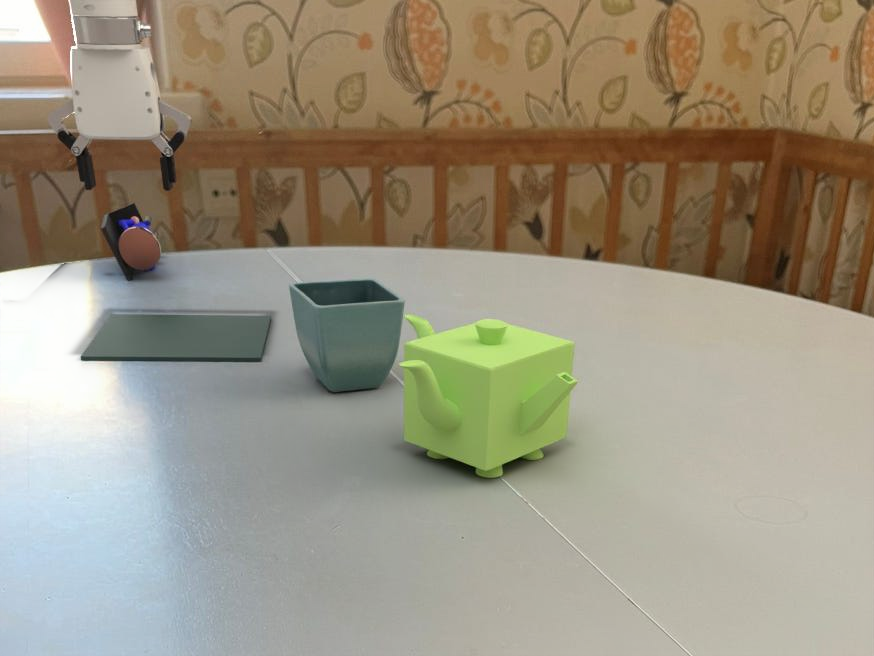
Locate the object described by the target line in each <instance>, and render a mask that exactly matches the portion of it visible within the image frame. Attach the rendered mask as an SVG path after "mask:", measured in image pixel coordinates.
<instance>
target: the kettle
mask: <svg viewBox="0 0 874 656" xmlns="http://www.w3.org/2000/svg"><path fill="white" fill-rule="evenodd" d="M403 318H405V320H406V321H407V322H408V323H409V324H410V325H411V326H412V327H413V329H414V331H415V333H416V336H417V338H416V339H413V340H410V341H406V342H405V343H404V344H403V361H402V362H400V363H398V366H399V367H401V368H403V440H404V441H405V442H407V443H409V444H412V445H415V446H418V447H421V448H423V449H426V450H428V451H427V452H426V455H427V457H429V458H432V459H436V460H445V459H453V460H456V461H459V462H461V463H464V464H466V465H469V466H472V467H474V468H475V474H476V475H477V476H479V477H482V478H488V479H491V478H492V479H493V478H494V479H495V478H498V477H502V475H503V473H504V471H503V465H504V464H506V463H509V462H512V461H513V460H514V461H515V460H516V459H518V458H521V459H524V460H529V461H530V460H531V461H534V460H540V459H543V458H544V453H543V452H542V450H541V449H542V448H544V447H547V446H549V445H551V444H553V443H557V442H559V441H560V440H561V441H562V440H563V439H565V438H567V435H568V423H569V411H570V402H571V401H570V400H571V392H572V390H573V389H574V388H575V387H576V386H577V384H578V382H579V380H578V379H576V378H575V377H574V376H573V367H574V356H575V355H574V354H575V346H576V345H575V344H576V343H575V342H574V341H572V340H569V339H565V338H561V337H558V336H555V335H550V334H547V333H544V332H539V331H535V330H532V329H529V328H526V327H521V326H518V325H513V324H510V323H507V322H505V321H503V320H501V319H495V318H485V319H480V320H477V321H476V322H473V323H470V324H467V325H464V326H463V325H462V326H459V327H456V328H452V329H448V330H445V331H441V332H438V333H436V332H435V330H434V328H433V327H432V325H431V324H430V321H428V320H427V319H425V318H423V317H421V316H419V315H415V314H403Z"/></svg>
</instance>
